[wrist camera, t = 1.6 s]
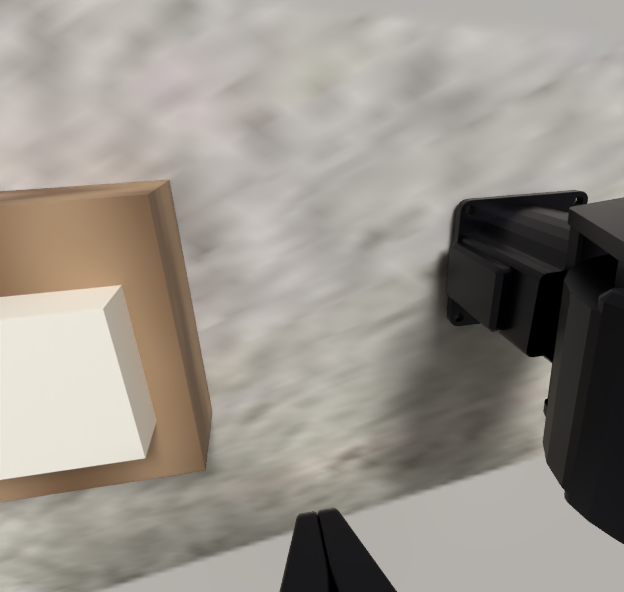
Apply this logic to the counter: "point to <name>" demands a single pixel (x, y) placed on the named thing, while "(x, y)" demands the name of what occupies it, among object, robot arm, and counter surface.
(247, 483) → the counter surface
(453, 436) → the counter surface
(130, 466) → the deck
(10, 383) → the cream rectangular block
